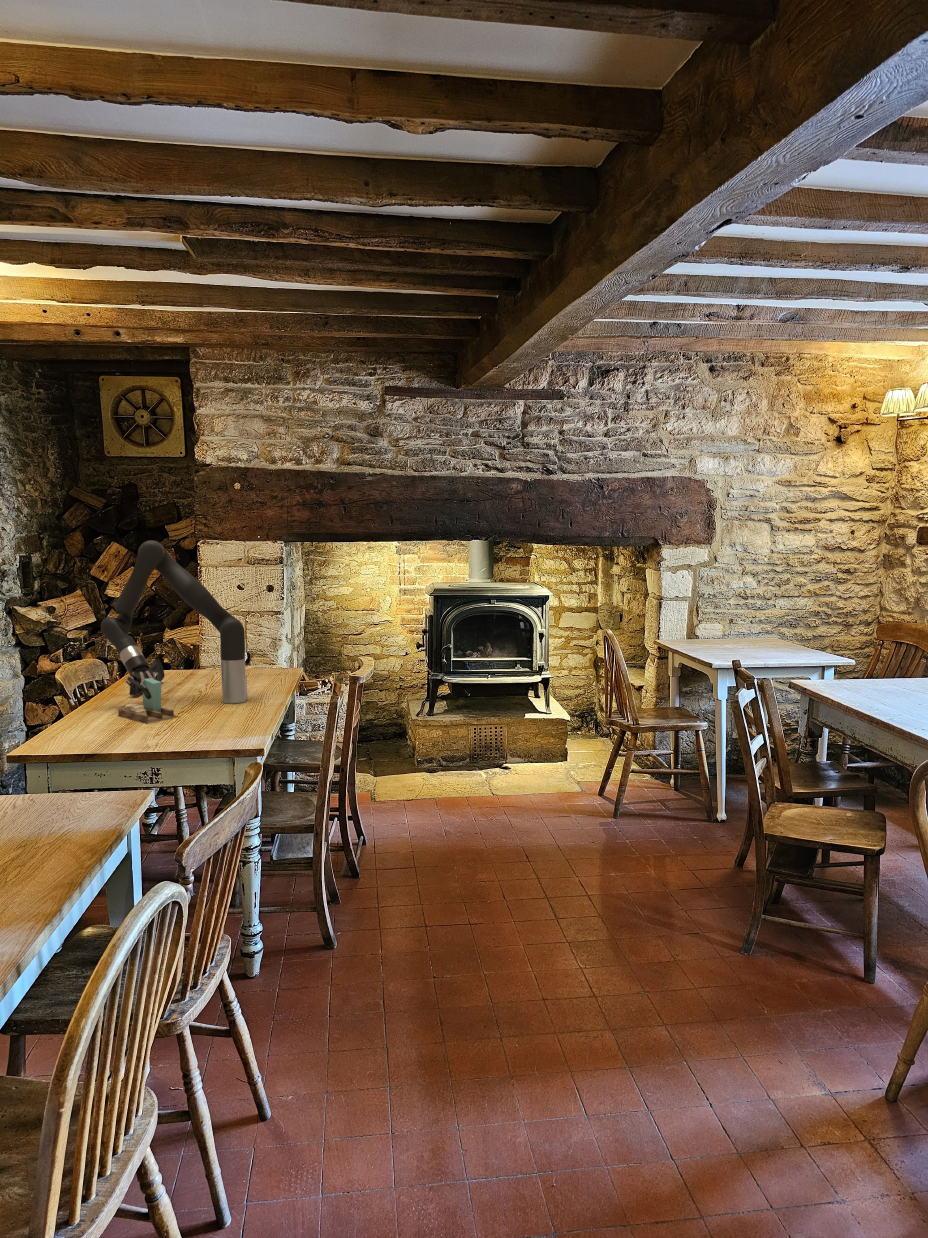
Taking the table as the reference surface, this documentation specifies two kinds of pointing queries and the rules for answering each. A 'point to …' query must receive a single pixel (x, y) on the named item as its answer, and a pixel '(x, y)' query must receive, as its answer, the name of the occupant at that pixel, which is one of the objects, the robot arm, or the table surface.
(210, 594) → the robot arm
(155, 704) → the teal board
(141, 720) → the walnut rack
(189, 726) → the table surface
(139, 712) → the offcut stack
